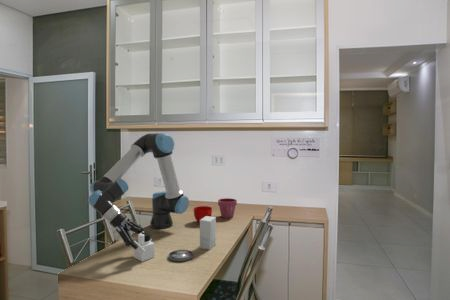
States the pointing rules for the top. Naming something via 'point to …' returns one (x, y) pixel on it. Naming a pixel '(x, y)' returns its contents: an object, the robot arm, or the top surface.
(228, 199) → the plant pot
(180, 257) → the pad
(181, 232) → the top surface
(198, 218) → the ceramic cup
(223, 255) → the top surface
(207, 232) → the skincare box
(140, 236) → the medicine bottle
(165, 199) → the robot arm
